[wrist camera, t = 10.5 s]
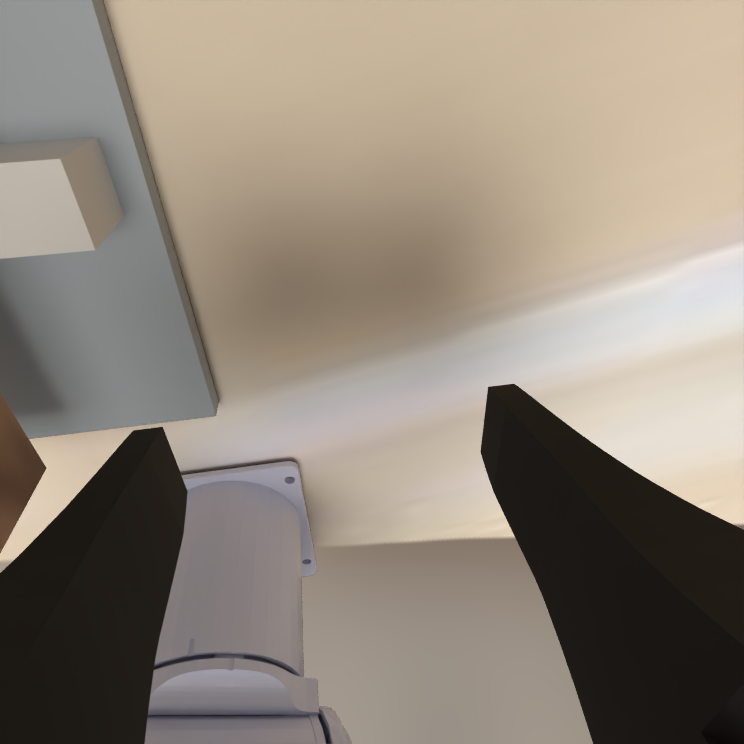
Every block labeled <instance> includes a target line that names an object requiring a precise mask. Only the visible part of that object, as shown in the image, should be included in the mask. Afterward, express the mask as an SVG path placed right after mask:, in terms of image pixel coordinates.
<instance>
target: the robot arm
mask: <svg viewBox="0 0 744 744" xmlns="http://www.w3.org/2000/svg"><path fill="white" fill-rule="evenodd" d="M481 455H482V458H483V461H484V464H485V468H486V471H487V474H488V477H489V480H490V483H491V485H492V488H493V491H494V493H495V496H496V498H497V500H498V502H499V504H500V506H501V508H502V511H503V513H504V515H505V517H506V519H507V521H508V523H509V525H510V527H511V529H512V531H513V534H514V536H515V538H516V540H517V542H518V544H519V546H520V548H521V550H522V552H523V554H524V556H525V558H526V561H527V563H528V565H529V567H530V569H531V571H532V573H533V575H534V577H535V579H536V582H537V584H538V586H539V589H540V591H541V593H542V595H543V598H544V601H545V603H546V606H547V609H548V611H549V614H550V617H551V620H552V623H553V625H554V628H555V631H556V633H557V636H558V639H559V642H560V644H561V647H562V650H563V653H564V656H565V659H566V662H567V665H568V668H569V671H570V673H571V676H572V679H573V682H574V685H575V688H576V691H577V694H578V698H579V700H580V704H581V707H582V710H583V713H584V716H585V719H586V722H587V726H588V729H589V732H590V735H591V738H592V741H593V744H744V530H743V529H741V528H739V527H737V526H735V525H733V524H731V523H729V522H726V521H724V520H722V519H720V518H718V517H716V516H714V515H712V514H710V513H708V512H706V511H704V510H702V509H700V508H698V507H696V506H695V505H693V504H691V503H689V502H687V501H685V500H683V499H681V498H680V497H678V496H676V495H674V494H673V493H671V492H669V491H667V490H666V489H664V488H662V487H660V486H659V485H657V484H655V483H653V482H652V481H650V480H648V479H647V478H645V477H643V476H642V475H640V474H638V473H637V472H635V471H634V470H632V469H630V468H629V467H627V466H626V465H624V464H623V463H621V462H620V461H618V460H617V459H615V458H614V457H612V456H611V455H609V454H608V453H606V452H605V451H603V450H602V449H600V448H599V447H598V446H596V445H595V444H593V443H592V442H590V441H589V440H588V439H586V438H585V437H583V436H582V435H581V434H579V433H578V432H577V431H575V430H574V429H573V428H571V427H570V426H569V425H567V424H566V423H565V422H563V421H562V420H561V419H559V418H558V417H557V416H555V415H554V414H553V413H552V412H550V411H549V410H548V409H546V408H545V407H544V406H543V405H541V404H540V403H539V402H537V401H536V400H535V399H534V398H532V397H531V396H530V395H528V394H527V393H526V392H525V391H523V390H522V389H521V388H519V387H518V386H517V385H515V384H509V385H501V386H493V387H488V394H487V402H486V411H485V419H484V428H483V436H482V445H481ZM287 477H292V478H287ZM316 572H317V564H316V559H315V554H314V548H313V543H312V537H311V532H310V526H309V521H308V516H307V510H306V505H305V500H304V494H303V489H302V483H301V478H300V473H299V467H298V465H297V464H296V463H295V462H292V461H285V462H277V463H270V464H262V465H255V466H247V467H239V468H232V469H224V470H217V471H209V472H201V473H194V474H186V475H181V473H180V471H179V468H178V466H177V463H176V460H175V458H174V455H173V453H172V450H171V447H170V445H169V442H168V440H167V437H166V435H165V432H164V429H163V427H159V428H151V429H142V430H134V431H133V432H132V433H131V434H130V435H129V436H128V437H127V438H126V439H125V440H124V442H123V443H122V444H121V445H120V446H119V447H118V448H117V450H116V451H115V452H114V453H113V454H112V455H111V457H110V458H109V459H108V460H107V461H106V462H105V464H104V465H103V466H102V467H101V468H100V469H99V470H98V472H97V473H96V474H95V475H94V476H93V477H92V479H91V480H90V481H89V482H88V483H87V484H86V485H85V486H84V488H83V489H82V490H81V491H80V492H79V493H78V494H77V495H76V497H75V498H74V499H73V500H72V501H71V502H70V503H69V504H68V505H67V507H66V508H65V509H64V510H63V511H62V512H61V513H60V514H59V515H58V516H57V517H56V518H55V519H54V520H53V521H52V522H51V523H50V524H49V525H48V526H47V527H46V528H45V529H44V530H43V531H42V533H41V534H40V535H39V536H38V537H37V538H36V539H35V540H34V541H33V542H32V543H31V544H30V545H29V546H28V547H27V548H26V549H25V550H24V551H23V552H22V553H21V554H20V555H19V556H18V557H17V558H16V559H15V560H14V561H13V562H12V563H11V564H10V565H9V566H7V567H6V568H5V570H3V571H2V572H1V573H0V744H352V742H351V739H350V737H349V735H348V733H347V731H346V729H345V728H344V726H343V725H342V723H341V721H340V719H339V717H338V716H337V714H336V712H335V711H334V710H333V709H331V708H329V707H325V706H319V703H318V681H317V679H315V678H305V677H304V660H303V620H302V585H301V584H302V583H301V582H302V581H301V577H307V576H311V575H314V574H315V573H316Z"/></svg>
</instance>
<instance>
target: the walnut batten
mask: <svg viewBox="0 0 744 744" xmlns="http://www.w3.org/2000/svg"><path fill="white" fill-rule="evenodd" d="M45 470H46V467H45V465H44V463H43V462H42V460H41V458H40V457H39V455H38V454H37V452H36V450H35V449H34V447H33V445H32V444H31V442H30V441H29V439H28V437H27V436H26V434H25V432H24V431H23V429H22V427H21V426H20V424H19V423H18V421H17V419H16V418H15V416H14V414H13V413H12V411H11V409H10V408H9V406H8V405H7V403H6V401H5V400H4V398H3V396H2V395H1V393H0V553H1V551H2V549H3V547H4V545H5V543H6V542H7V540H8V538H9V536H10V534H11V532H12V531H13V529H14V527H15V525H16V523H17V521H18V520H19V518H20V516H21V514H22V512H23V510H24V508H25V507H26V505H27V503H28V501H29V499H30V497H31V496H32V494H33V492H34V490H35V488H36V486H37V484H38V483H39V481H40V479H41V477H42V475H43V473H44V472H45Z"/></svg>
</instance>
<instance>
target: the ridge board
mask: <svg viewBox="0 0 744 744" xmlns="http://www.w3.org/2000/svg"><path fill="white" fill-rule="evenodd" d="M0 393H1V395H2V396H3V398H4V400H5V401H6V403H7V405H8V406H9V408H10V409H11V411H12V413H13V414H14V416H15V418H16V419H17V421H18V423H19V424H20V426H21V427H22V429H23V431H24V432H25V434H26V436H27V437H28V439H32V438H41V437H49V436H57V435H65V434H73V433H81V432H90V431H98V430H106V429H114V428H122V427H131V426H139V425H147V424H155V423H163V422H172V421H180V420H188V419H196V418H204V417H213V416H216V413H217V408H218V402H219V401H218V398H217V395H216V391H215V388H214V384H213V381H212V377H211V374H210V370H209V367H208V363H207V360H206V356H205V353H204V350H203V346H202V343H201V339H200V336H199V332H198V329H197V325H196V322H195V318H194V315H193V311H192V308H191V304H190V301H189V298H188V294H187V291H186V287H185V284H184V280H183V277H182V273H181V270H180V266H179V263H178V259H177V256H176V253H175V249H174V246H173V242H172V239H171V235H170V232H169V228H168V225H167V221H166V218H165V214H164V211H163V208H162V204H161V201H160V197H159V194H158V190H157V187H156V183H155V180H154V176H153V173H152V169H151V166H150V162H149V159H148V156H147V152H146V149H145V145H144V142H143V138H142V135H141V131H140V128H139V124H138V121H137V117H136V114H135V111H134V107H133V104H132V100H131V97H130V93H129V90H128V86H127V83H126V79H125V76H124V72H123V69H122V66H121V62H120V59H119V55H118V52H117V48H116V45H115V41H114V38H113V34H112V31H111V27H110V24H109V20H108V17H107V14H106V10H105V7H104V3H103V0H0Z"/></svg>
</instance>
